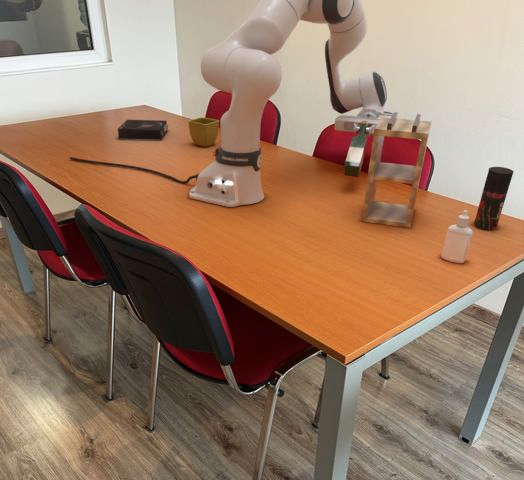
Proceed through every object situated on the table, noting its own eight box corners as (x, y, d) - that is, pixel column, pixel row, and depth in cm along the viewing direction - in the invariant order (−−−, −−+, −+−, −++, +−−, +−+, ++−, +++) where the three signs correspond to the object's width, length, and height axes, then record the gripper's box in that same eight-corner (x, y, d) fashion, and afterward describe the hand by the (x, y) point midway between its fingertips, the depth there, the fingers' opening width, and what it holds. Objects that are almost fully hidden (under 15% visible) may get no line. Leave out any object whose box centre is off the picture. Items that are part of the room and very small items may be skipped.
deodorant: (494, 231, 137) (511, 175, 128) (471, 226, 140) (486, 170, 131) (498, 224, 141) (515, 169, 132) (476, 220, 144) (491, 165, 135)
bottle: (358, 177, 158) (358, 166, 154) (344, 175, 159) (344, 164, 155) (371, 129, 165) (372, 118, 161) (357, 128, 167) (358, 116, 163)
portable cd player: (161, 140, 205) (160, 130, 203) (119, 139, 205) (117, 128, 203) (168, 130, 219) (167, 120, 216) (128, 129, 219) (127, 119, 216)
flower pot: (220, 144, 202) (219, 120, 197) (206, 149, 196) (205, 124, 191) (202, 141, 206) (201, 117, 201) (188, 145, 200) (187, 121, 195)
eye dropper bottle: (454, 265, 120) (467, 216, 113) (437, 256, 124) (449, 208, 117) (468, 262, 122) (482, 213, 115) (451, 253, 126) (463, 205, 119)
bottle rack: (361, 221, 141) (375, 122, 126) (368, 204, 152) (382, 111, 137) (409, 228, 138) (429, 127, 123) (413, 210, 149) (432, 115, 134)
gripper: (339, 108, 173) (331, 117, 163) (400, 114, 168) (396, 123, 158) (337, 128, 177) (329, 138, 166) (397, 134, 172) (393, 144, 162)
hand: (362, 130), depth 162 cm, fingers closed on bottle, 2 cm apart
